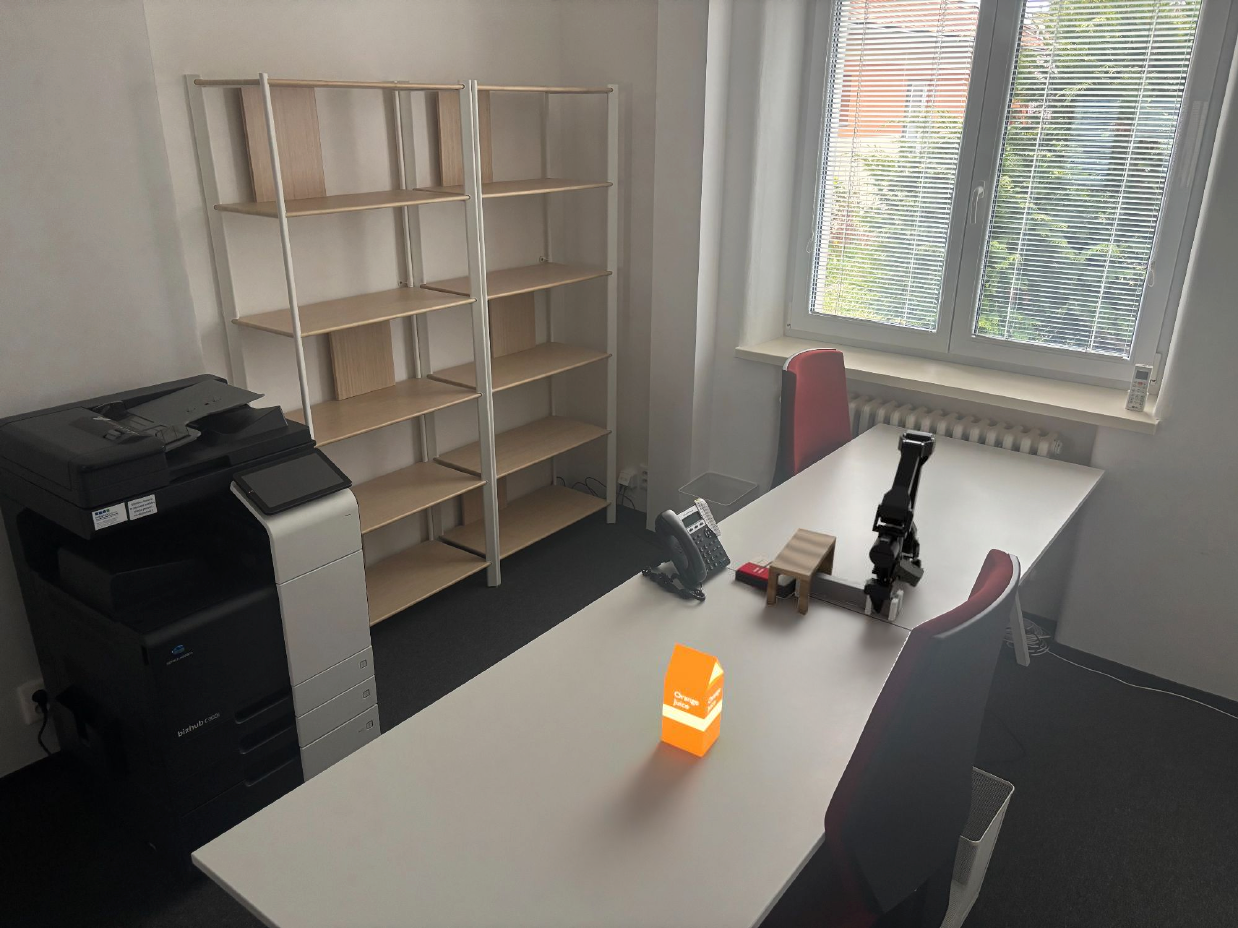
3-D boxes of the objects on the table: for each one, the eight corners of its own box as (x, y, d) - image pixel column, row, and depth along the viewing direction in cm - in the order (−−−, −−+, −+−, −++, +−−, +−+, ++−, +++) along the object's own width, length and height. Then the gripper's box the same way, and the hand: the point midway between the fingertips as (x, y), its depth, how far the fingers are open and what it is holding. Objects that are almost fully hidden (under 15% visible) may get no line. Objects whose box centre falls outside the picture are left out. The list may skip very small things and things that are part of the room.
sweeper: (808, 579, 228) (810, 562, 226) (902, 605, 216) (905, 588, 214) (794, 595, 220) (796, 578, 218) (891, 624, 208) (894, 606, 206)
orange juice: (701, 757, 163) (707, 668, 156) (660, 740, 168) (664, 652, 160) (719, 734, 170) (726, 647, 162) (680, 718, 174) (684, 633, 167)
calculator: (756, 553, 234) (807, 569, 225) (756, 568, 235) (806, 583, 226) (734, 568, 226) (785, 584, 217) (734, 583, 227) (784, 600, 218)
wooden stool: (795, 564, 235) (799, 528, 231) (831, 574, 231) (836, 536, 227) (765, 604, 216) (769, 565, 212) (804, 615, 211) (809, 575, 207)
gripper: (916, 574, 197) (907, 633, 203) (930, 541, 213) (921, 597, 218) (867, 562, 202) (859, 620, 208) (884, 532, 217) (876, 586, 223)
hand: (880, 606), depth 214 cm, fingers closed on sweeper, 7 cm apart
